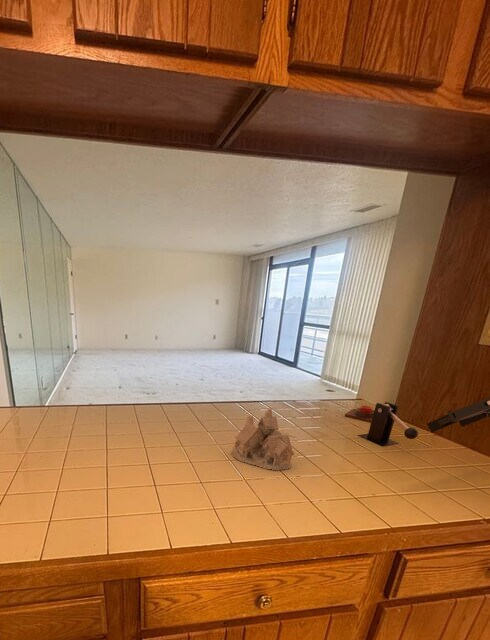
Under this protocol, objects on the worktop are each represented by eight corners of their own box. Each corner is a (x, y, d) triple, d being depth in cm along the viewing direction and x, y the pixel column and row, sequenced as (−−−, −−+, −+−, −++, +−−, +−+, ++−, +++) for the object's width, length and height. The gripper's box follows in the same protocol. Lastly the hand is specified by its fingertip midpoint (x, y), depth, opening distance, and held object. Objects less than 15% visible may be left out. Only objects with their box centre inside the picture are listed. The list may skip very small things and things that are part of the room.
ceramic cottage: (227, 447, 112) (234, 404, 105) (275, 448, 114) (285, 406, 107) (241, 474, 98) (251, 426, 92) (296, 474, 100) (309, 427, 94)
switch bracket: (398, 446, 117) (410, 407, 112) (381, 449, 114) (393, 410, 109) (372, 435, 126) (382, 399, 120) (356, 438, 123) (365, 401, 117)
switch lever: (415, 440, 109) (423, 432, 107) (407, 442, 108) (415, 434, 106) (383, 410, 118) (390, 402, 115) (376, 411, 117) (382, 403, 114)
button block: (383, 420, 141) (385, 411, 139) (376, 426, 134) (379, 417, 132) (351, 413, 148) (353, 404, 147) (344, 418, 141) (346, 409, 140)
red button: (372, 411, 140) (373, 407, 139) (369, 413, 137) (370, 409, 136) (361, 409, 142) (362, 405, 142) (358, 411, 139) (359, 407, 139)
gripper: (553, 371, 86) (465, 409, 105) (495, 377, 77) (410, 418, 96) (572, 397, 84) (478, 431, 102) (515, 406, 75) (423, 442, 93)
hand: (445, 425), depth 99 cm, fingers open, 13 cm apart
